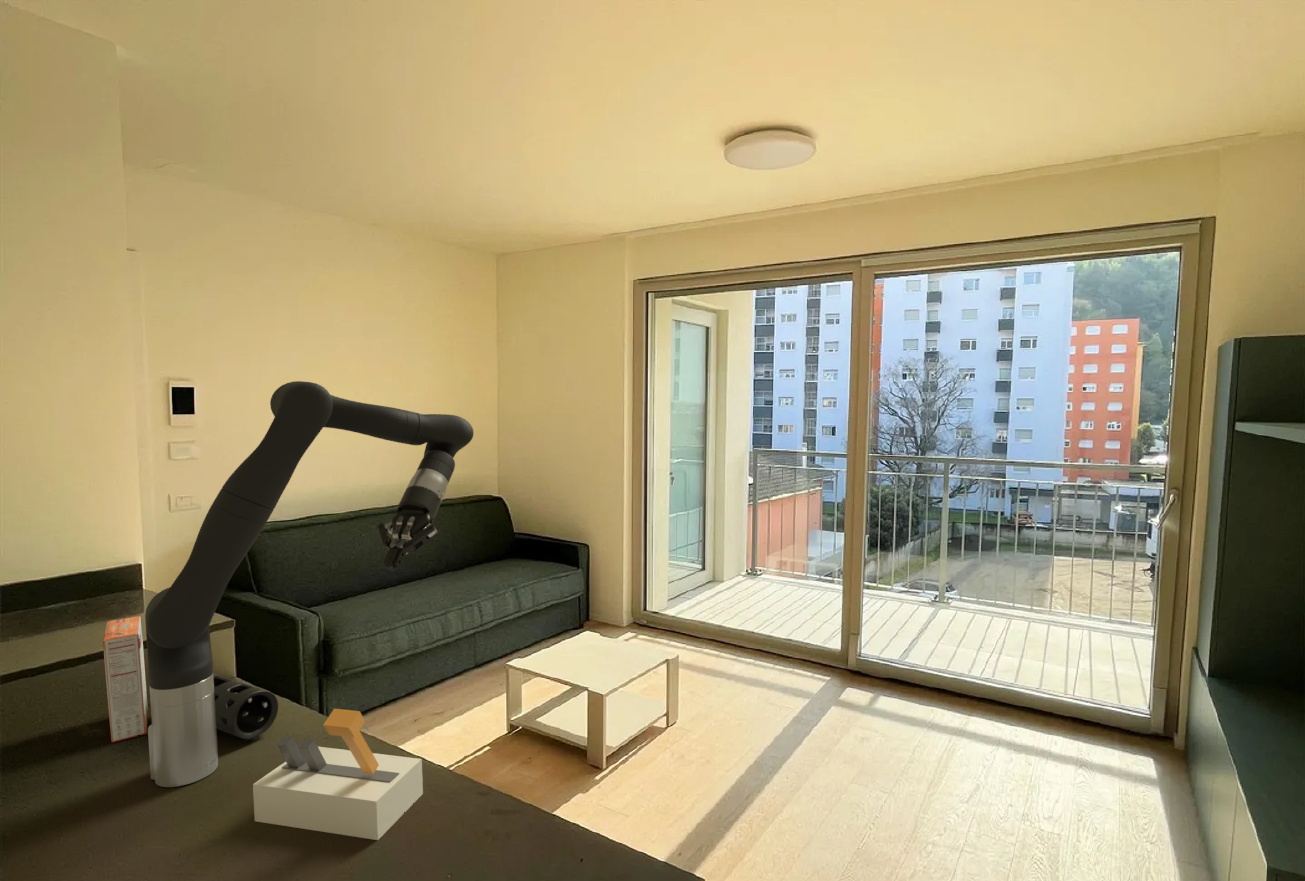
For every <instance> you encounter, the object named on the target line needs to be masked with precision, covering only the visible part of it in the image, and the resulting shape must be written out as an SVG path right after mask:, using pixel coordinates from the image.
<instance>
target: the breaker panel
mask: <svg viewBox="0 0 1305 881" xmlns="http://www.w3.org/2000/svg"><path fill="white" fill-rule="evenodd" d="M276 747H277V748H278V750H279V751H280V754H281V755H282V757H283V758H284V760H285V761H284V762H283V763H282V764H280V765H278V766H277V767H276V768H273V770H271V771H269V772H268V773H267V774H265V775H264V776H263V777H261V778H260V779H258V780H257V781H255V782H254V783H253V784H252V790H253V791H252V792H253V795H252V796H253V813H254V815H253V816H254V822H258V823H263V824H264V823H265V824H268V825H269V824H270V825H277V826H282V827H283V826H285V827H291V828H297V829H304V830H309V831H310V830H311V831H317V832H323V833H329V834H335V835H336V834H337V835H342V836H347V837H356V838H360V839H369V840H375V841H379V840H380V839H381V837H383V836H384V835H385V834H386V833H387V831H388V830H389V829H390V828H392V826H393V825H395V823H396V822H398V820H399V819H400V818H401V817H402V816H403V815H404V814H405V813H406V812H407V811H408V810H409V809H410V808H411V807H412V806H413V805H414V804H415V803H416V802H417V800H418V799H419V798H420V797H422V795H423V794H424V788H423V787H424V785H423V784H424V782H423V759H422V758H415V757H408V756H401V755H391V754H382V753H376V752H375V753H374V752H372V753H373V755H374V757H375V759H376V760H377V762H378V764H379V765H378V767H377V769H376V771H375V772H374V774H368V773H363V771H362V769H361V768H360V766H359V764H358V763H357V761H356V759H355V758H354V756H353V754H352V753H351V751H350V749H349V750H348V749H342V748H341V749H340V748H335V747H334V748H333V747H332V748H331V747H324V746H318V744H317V742H316V739H312V738H303V740H302V741H301V742H300V743H299V745H298V744H297V742H296V740H295V738H294V737H293V736H287V735H283V736H281V738H280V739H279V741H278V742H277V743H276ZM413 803H414V804H413ZM404 812H405V813H404Z"/></svg>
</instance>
